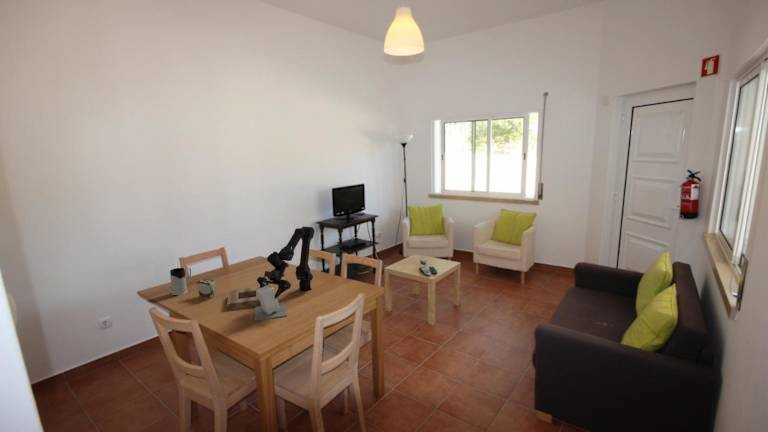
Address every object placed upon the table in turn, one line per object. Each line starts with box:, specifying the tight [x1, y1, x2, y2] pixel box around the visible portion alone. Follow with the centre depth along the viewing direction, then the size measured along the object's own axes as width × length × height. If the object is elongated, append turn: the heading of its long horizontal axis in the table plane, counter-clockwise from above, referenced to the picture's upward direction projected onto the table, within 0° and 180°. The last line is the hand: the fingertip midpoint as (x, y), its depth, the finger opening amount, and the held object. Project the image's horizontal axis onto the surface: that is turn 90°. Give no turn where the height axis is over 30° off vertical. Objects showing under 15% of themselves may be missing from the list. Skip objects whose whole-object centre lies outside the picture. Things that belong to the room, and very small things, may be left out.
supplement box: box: [256, 284, 280, 315], centre depth 191 cm, size 7×7×13 cm
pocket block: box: [226, 286, 261, 311], centre depth 208 cm, size 20×20×4 cm
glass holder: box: [169, 267, 192, 296], centre depth 221 cm, size 9×14×15 cm, turn 164°
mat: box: [254, 302, 288, 322], centre depth 193 cm, size 16×16×1 cm
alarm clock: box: [196, 278, 216, 300], centre depth 214 cm, size 12×6×10 cm, turn 65°
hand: (267, 297), depth 190 cm, fingers closed on supplement box, 9 cm apart
